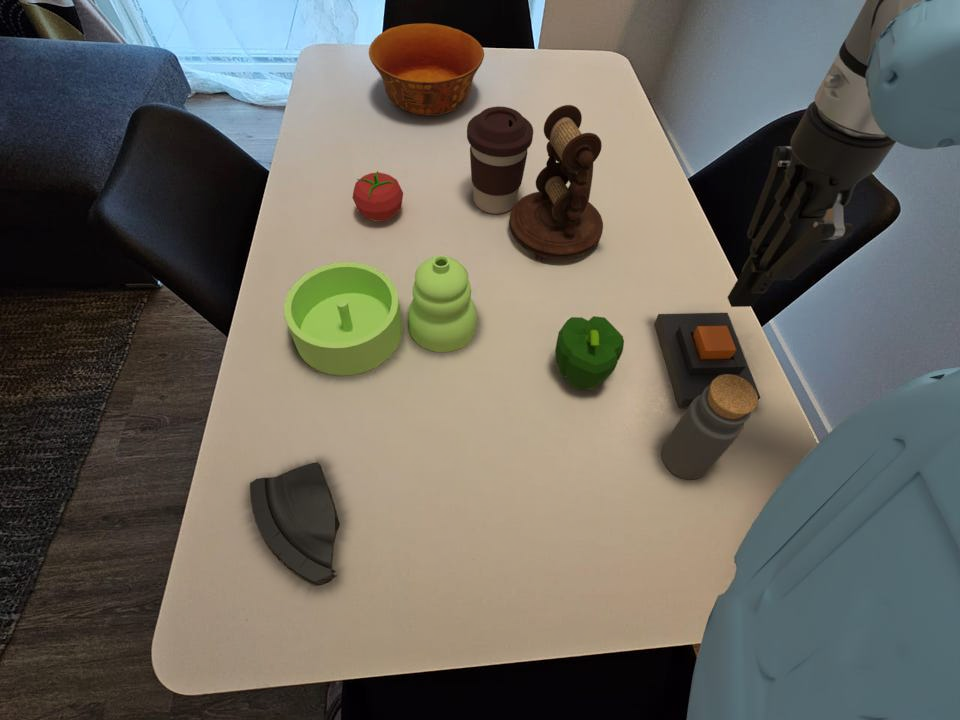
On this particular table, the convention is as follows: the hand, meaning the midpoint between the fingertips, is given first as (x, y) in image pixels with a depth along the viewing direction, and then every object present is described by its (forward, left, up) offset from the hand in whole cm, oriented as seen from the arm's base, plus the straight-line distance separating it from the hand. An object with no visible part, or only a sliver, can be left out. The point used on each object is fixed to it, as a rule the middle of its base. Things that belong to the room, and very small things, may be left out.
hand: (740, 301), depth 67 cm
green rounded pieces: (+7, +43, -13) cm, 46 cm away
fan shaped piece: (-20, +52, -13) cm, 57 cm away
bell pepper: (-1, +17, -13) cm, 21 cm away
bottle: (-14, +6, -13) cm, 20 cm away
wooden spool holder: (+26, +17, -13) cm, 34 cm away
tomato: (+31, +45, -13) cm, 56 cm away
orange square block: (0, 0, -10) cm, 10 cm away
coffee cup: (+34, +26, -13) cm, 45 cm away
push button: (0, 0, -13) cm, 13 cm away
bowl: (+64, +37, -13) cm, 75 cm away
